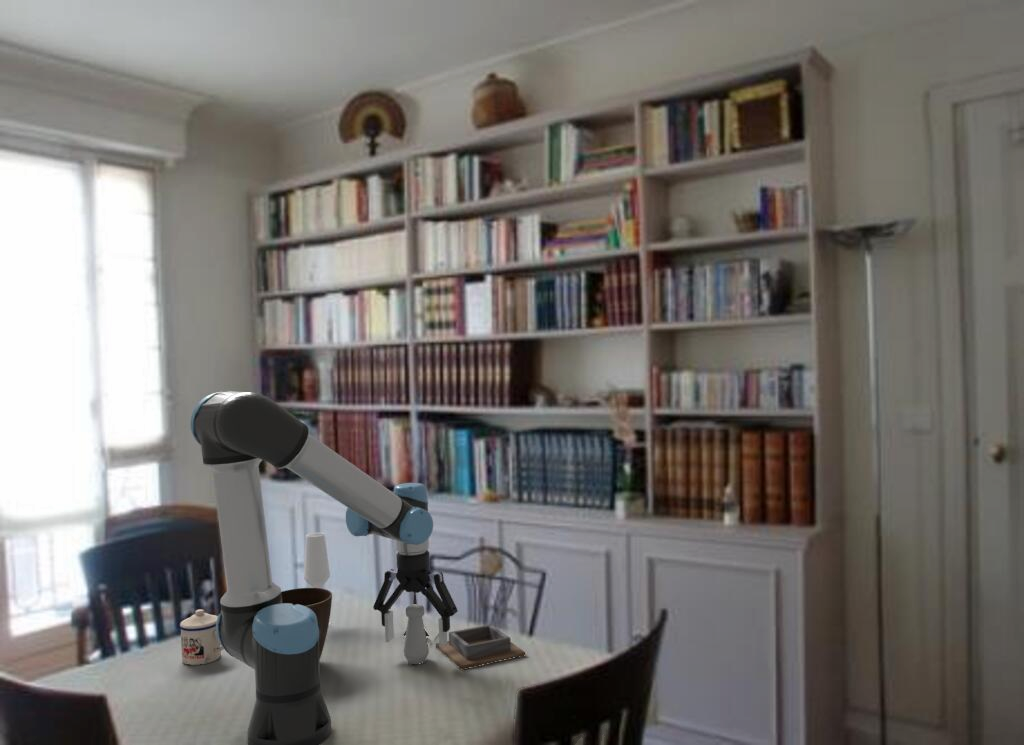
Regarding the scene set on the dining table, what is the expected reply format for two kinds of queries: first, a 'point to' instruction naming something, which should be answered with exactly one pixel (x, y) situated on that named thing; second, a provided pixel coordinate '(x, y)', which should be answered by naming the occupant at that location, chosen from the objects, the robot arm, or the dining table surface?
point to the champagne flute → (316, 561)
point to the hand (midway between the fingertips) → (416, 642)
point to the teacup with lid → (200, 639)
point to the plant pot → (313, 607)
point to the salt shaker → (415, 635)
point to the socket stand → (479, 646)
